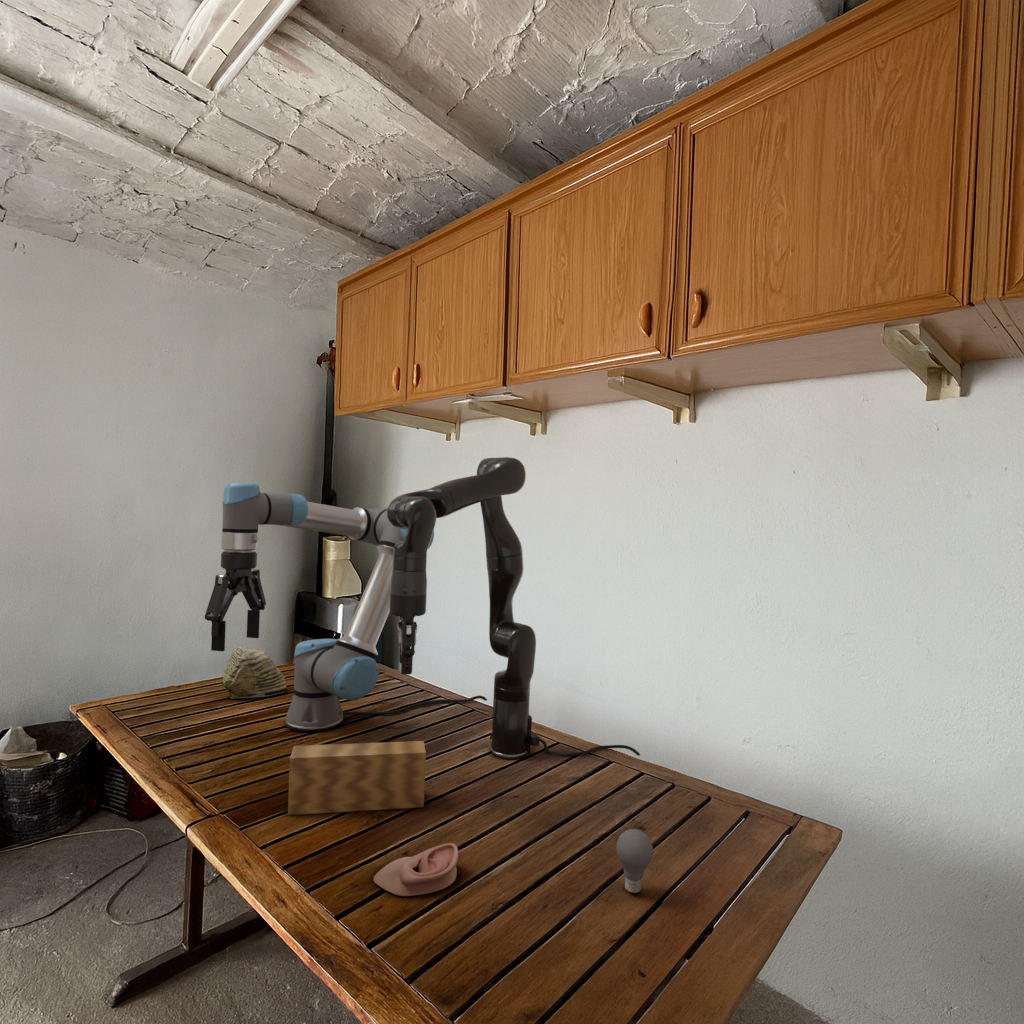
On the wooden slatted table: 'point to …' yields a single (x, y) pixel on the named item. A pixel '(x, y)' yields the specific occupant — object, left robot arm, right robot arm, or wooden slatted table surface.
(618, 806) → the wooden slatted table surface
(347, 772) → the box
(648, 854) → the light bulb
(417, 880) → the anatomical model
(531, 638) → the right robot arm
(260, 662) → the fossil
